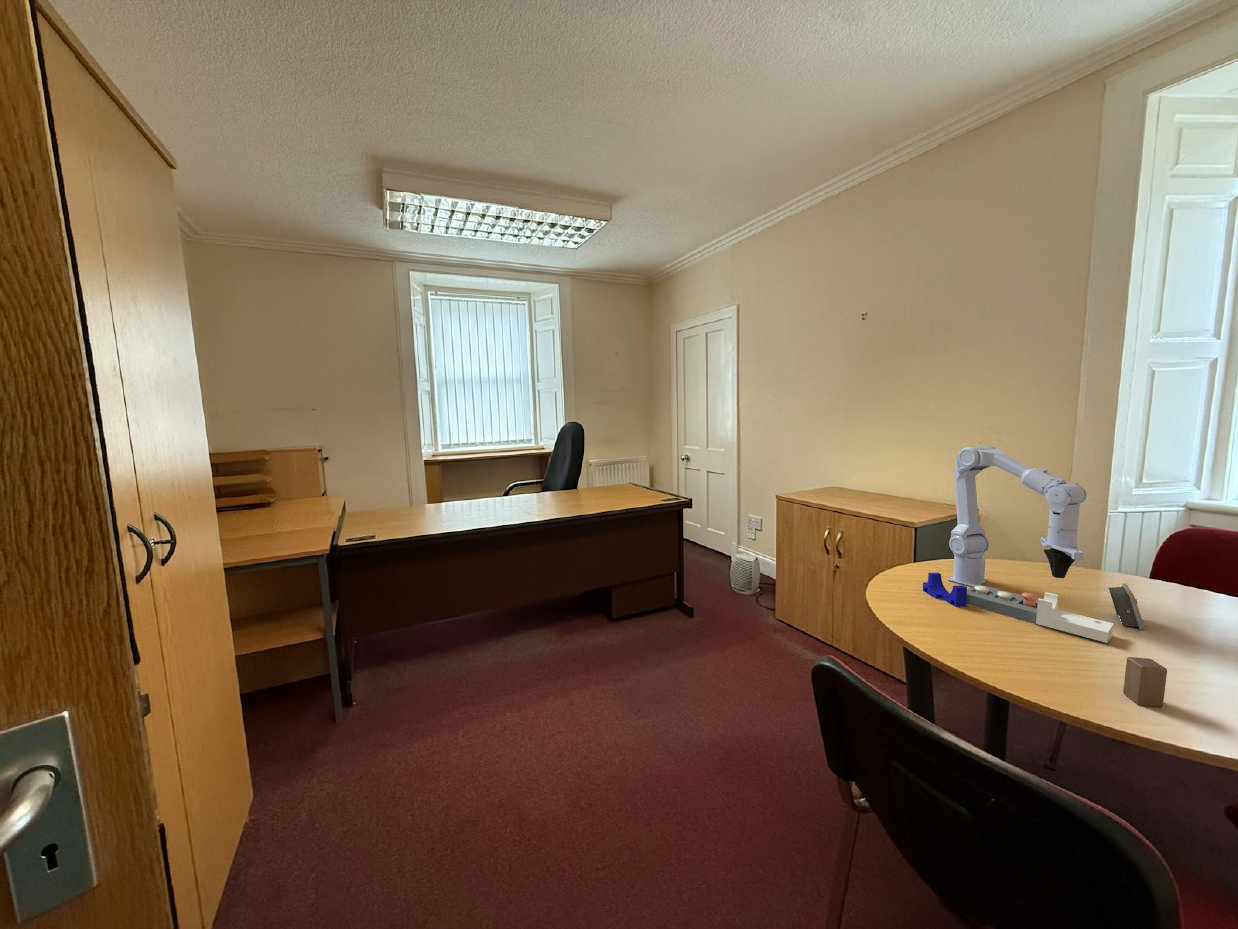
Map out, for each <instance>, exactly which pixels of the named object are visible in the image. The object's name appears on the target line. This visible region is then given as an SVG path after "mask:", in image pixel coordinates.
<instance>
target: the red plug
mask: <svg viewBox="0 0 1238 929" xmlns="http://www.w3.org/2000/svg"><path fill="white" fill-rule="evenodd" d="M1021 595H1022V597H1023V605H1025V606H1029V607H1033V608H1036V600H1038V599H1039V595H1037V594H1036V593H1032V592H1021Z"/></svg>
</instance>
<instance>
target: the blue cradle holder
mask: <svg viewBox="0 0 1238 929" xmlns="http://www.w3.org/2000/svg"><path fill="white" fill-rule="evenodd" d="M967 590H968V587H967V585H965V584H961V585H956V584H955V585H952V590H951V592H949V591H948V590H947V588H946V587H945V585H944V583H943V580H942V573H941V572H938V571H937V572H928V575H927V581H923V582H922V591H923V593H925V592H926V594H927V595H929V596H931V597H932V598H934V599H936V600H937V599H940V600H943V601H945V602H946V603H948V604H950V605H951V606H953V607H956V608H964V607H965V608H966V607H967V604H966V597H967Z"/></svg>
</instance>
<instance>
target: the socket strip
mask: <svg viewBox="0 0 1238 929" xmlns="http://www.w3.org/2000/svg"><path fill="white" fill-rule="evenodd" d="M975 586H984V587H987V588H989V592H988V593H987V595H984V594H980V593H977V592H976V590H975ZM975 586H973V587H972V586H970V588H967V597H966V605H968V606H972V607H976V608H978V609H982V610H986V611H988V612H992V613H996V614H998V615H1002V616H1006V617H1011V618H1013V619H1016V620H1020V621H1023V622H1027V623H1031V624H1034V625H1036V617H1037V605H1038V600H1036V608H1033V607H1029V606H1025V605H1023V597H1022V594H1018V593H1015V592H1010V591H1007V590H1003V589H999V588H995V587H990V586H987V585H982V584H981V585H979V584H977V585H975ZM1000 591H1002V592H1008V593H1011V594H1012V595H1013V598H1012V599H1011V601H1007V600H1003V599H999V597H998V596H997V592H1000Z"/></svg>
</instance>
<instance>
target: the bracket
mask: <svg viewBox="0 0 1238 929" xmlns="http://www.w3.org/2000/svg"><path fill="white" fill-rule="evenodd" d="M1058 606H1059V594H1055V593H1052V592H1048V591H1047V592H1044V595H1043V599H1042V598H1039V597H1038V605H1037V617H1036V624H1037V625H1040V626H1043V627H1047V628H1051V629H1055V630H1059V631H1062V632H1065V633H1069V634H1072V635H1073V634H1074V635H1076V636H1080V637H1084V638H1088V639H1091V640H1093V641H1098V642H1102V643H1108V642H1109V640H1110V641H1111V639H1112V638H1113V632H1114V631H1113V630H1114V624H1115V623H1112V622H1109V621H1104V620H1101V619H1096V618H1092V617H1088V616H1084V615H1082V614H1081V615H1080V614H1077V613H1076V614H1075V613H1072V612H1069V611H1064V610H1061V609H1058ZM1036 624H1035V625H1036Z"/></svg>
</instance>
